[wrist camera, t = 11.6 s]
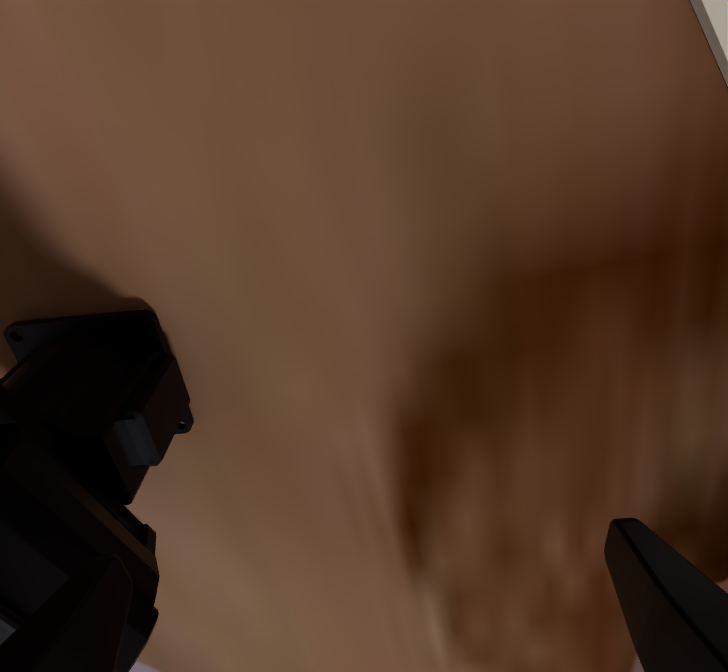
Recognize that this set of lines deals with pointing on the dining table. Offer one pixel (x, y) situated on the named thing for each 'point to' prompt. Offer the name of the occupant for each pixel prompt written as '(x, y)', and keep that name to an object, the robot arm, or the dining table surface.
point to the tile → (715, 29)
